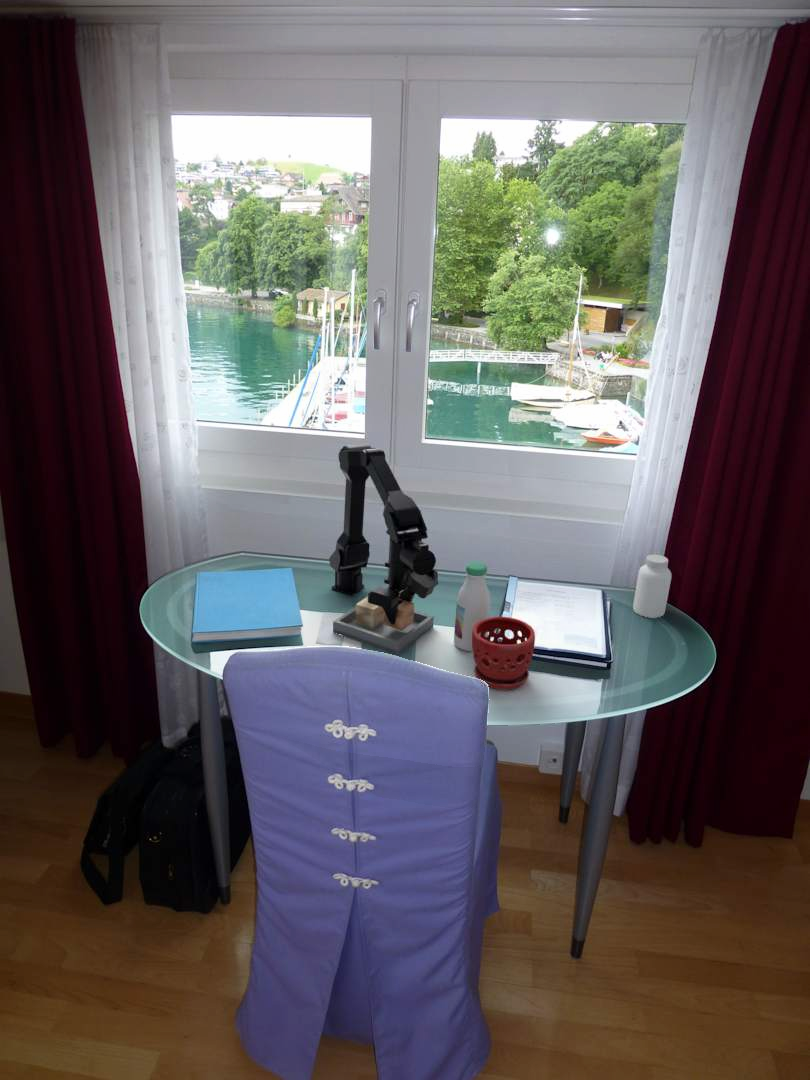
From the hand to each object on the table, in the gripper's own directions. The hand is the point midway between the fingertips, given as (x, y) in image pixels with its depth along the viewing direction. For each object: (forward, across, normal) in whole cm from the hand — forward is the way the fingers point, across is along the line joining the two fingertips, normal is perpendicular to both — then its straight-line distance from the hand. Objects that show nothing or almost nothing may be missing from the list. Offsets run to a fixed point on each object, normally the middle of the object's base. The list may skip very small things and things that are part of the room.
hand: (398, 619), depth 190 cm
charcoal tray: (+4, 0, +4) cm, 6 cm away
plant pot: (+4, -4, -28) cm, 29 cm away
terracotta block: (+1, 0, 0) cm, 1 cm away
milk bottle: (+4, +6, -16) cm, 18 cm away
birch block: (+3, 0, +8) cm, 8 cm away
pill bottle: (+4, +48, -46) cm, 67 cm away
